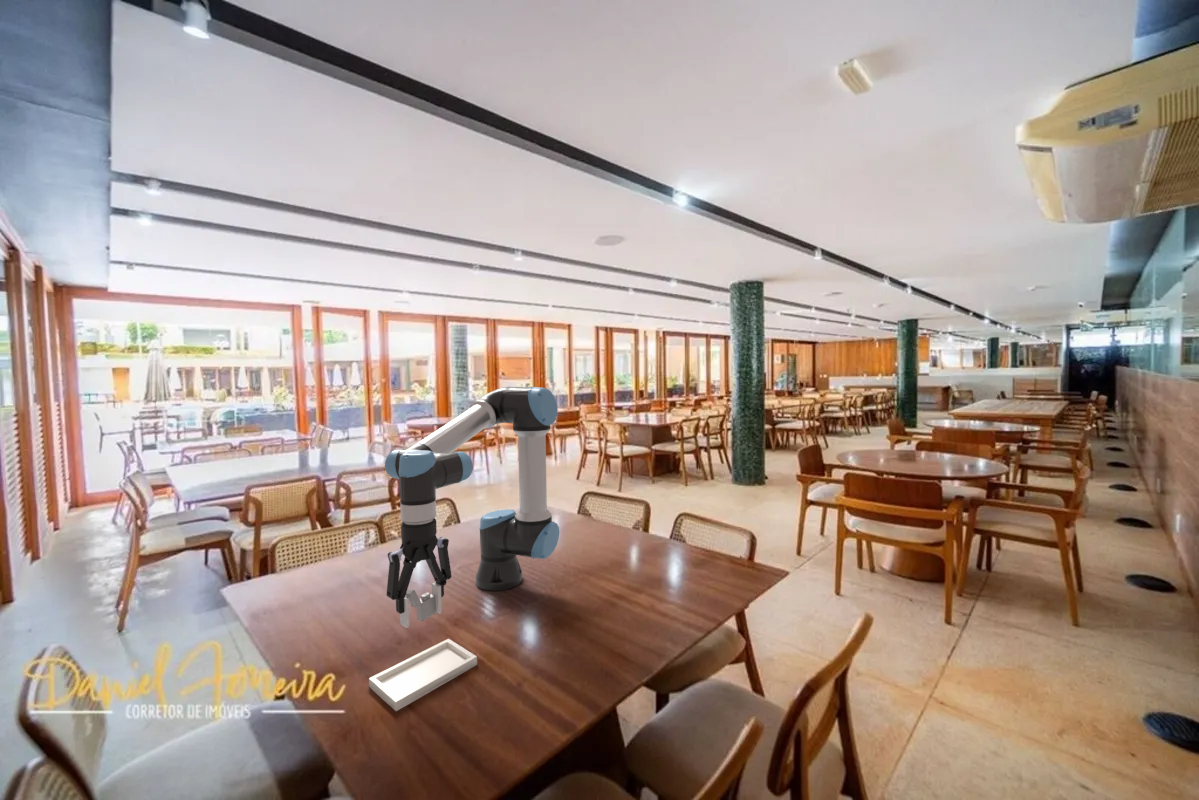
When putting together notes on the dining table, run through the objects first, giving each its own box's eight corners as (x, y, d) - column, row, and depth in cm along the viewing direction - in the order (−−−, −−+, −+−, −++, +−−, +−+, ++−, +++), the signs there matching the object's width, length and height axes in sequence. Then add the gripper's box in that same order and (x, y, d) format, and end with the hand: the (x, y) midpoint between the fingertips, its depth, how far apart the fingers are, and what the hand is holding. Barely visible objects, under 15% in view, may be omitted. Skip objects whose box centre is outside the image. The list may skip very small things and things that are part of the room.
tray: (448, 646, 121) (448, 638, 121) (477, 664, 113) (476, 656, 113) (369, 687, 105) (368, 678, 105) (396, 711, 98) (395, 702, 98)
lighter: (430, 611, 112) (429, 578, 112) (435, 613, 111) (435, 579, 111) (405, 625, 106) (404, 590, 105) (411, 627, 105) (410, 592, 105)
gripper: (448, 507, 117) (451, 597, 119) (365, 527, 102) (369, 630, 103) (466, 512, 113) (468, 606, 114) (382, 535, 97) (385, 643, 99)
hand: (421, 618), depth 109 cm, fingers closed on lighter, 7 cm apart
